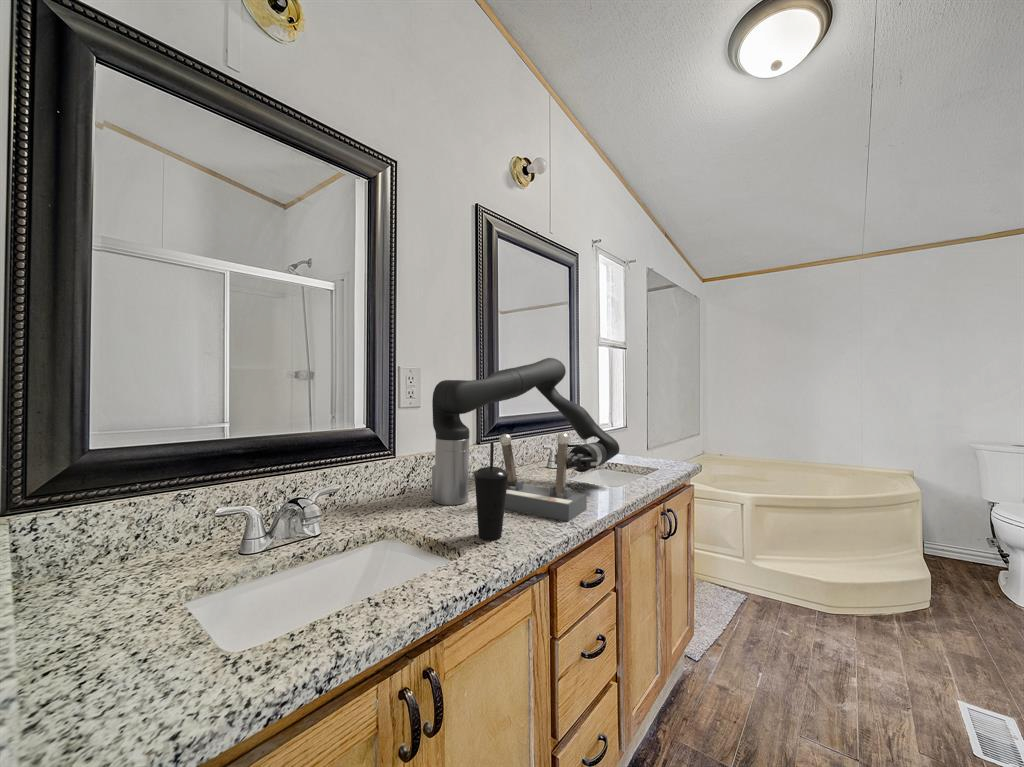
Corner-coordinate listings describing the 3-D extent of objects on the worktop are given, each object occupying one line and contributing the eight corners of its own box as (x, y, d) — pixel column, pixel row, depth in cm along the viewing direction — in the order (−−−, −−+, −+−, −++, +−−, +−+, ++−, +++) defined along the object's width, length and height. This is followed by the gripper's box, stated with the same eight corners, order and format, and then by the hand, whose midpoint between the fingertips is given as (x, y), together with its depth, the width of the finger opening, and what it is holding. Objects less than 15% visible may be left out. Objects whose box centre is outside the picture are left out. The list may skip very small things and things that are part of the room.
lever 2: (551, 492, 109) (555, 432, 110) (557, 490, 112) (560, 432, 113) (563, 494, 108) (566, 433, 109) (568, 492, 111) (571, 433, 112)
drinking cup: (464, 536, 91) (466, 442, 91) (490, 528, 96) (492, 439, 96) (489, 546, 86) (491, 446, 86) (515, 536, 91) (517, 443, 91)
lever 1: (505, 487, 117) (496, 436, 112) (510, 480, 119) (502, 431, 115) (515, 488, 115) (506, 437, 110) (521, 482, 118) (512, 432, 113)
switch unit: (485, 505, 114) (485, 481, 114) (508, 495, 125) (508, 474, 125) (568, 521, 102) (569, 495, 102) (586, 509, 113) (587, 485, 113)
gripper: (565, 442, 130) (540, 448, 114) (608, 446, 123) (587, 453, 108) (564, 467, 129) (539, 476, 114) (607, 472, 123) (586, 483, 108)
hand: (562, 465), depth 111 cm, fingers closed
